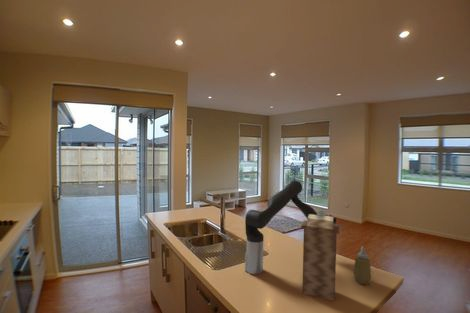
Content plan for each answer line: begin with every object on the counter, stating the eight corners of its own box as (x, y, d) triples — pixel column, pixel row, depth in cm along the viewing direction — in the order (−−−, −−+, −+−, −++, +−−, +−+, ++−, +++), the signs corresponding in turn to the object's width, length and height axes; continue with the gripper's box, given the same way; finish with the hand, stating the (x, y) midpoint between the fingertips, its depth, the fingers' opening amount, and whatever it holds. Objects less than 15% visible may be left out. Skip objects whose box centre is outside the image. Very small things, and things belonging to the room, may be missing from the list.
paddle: (307, 225, 110) (307, 218, 110) (310, 216, 127) (310, 209, 127) (333, 229, 106) (333, 221, 106) (333, 218, 123) (333, 211, 123)
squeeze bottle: (355, 276, 129) (356, 242, 128) (372, 281, 123) (373, 246, 123) (351, 282, 122) (352, 247, 122) (369, 288, 117) (370, 251, 117)
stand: (299, 293, 111) (301, 225, 111) (302, 283, 120) (303, 220, 119) (337, 302, 105) (339, 230, 105) (337, 291, 114) (338, 224, 113)
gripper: (309, 216, 140) (307, 207, 127) (336, 219, 135) (336, 210, 122) (308, 229, 137) (306, 221, 124) (335, 232, 131) (336, 224, 118)
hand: (321, 215), depth 123 cm, fingers open, 8 cm apart
